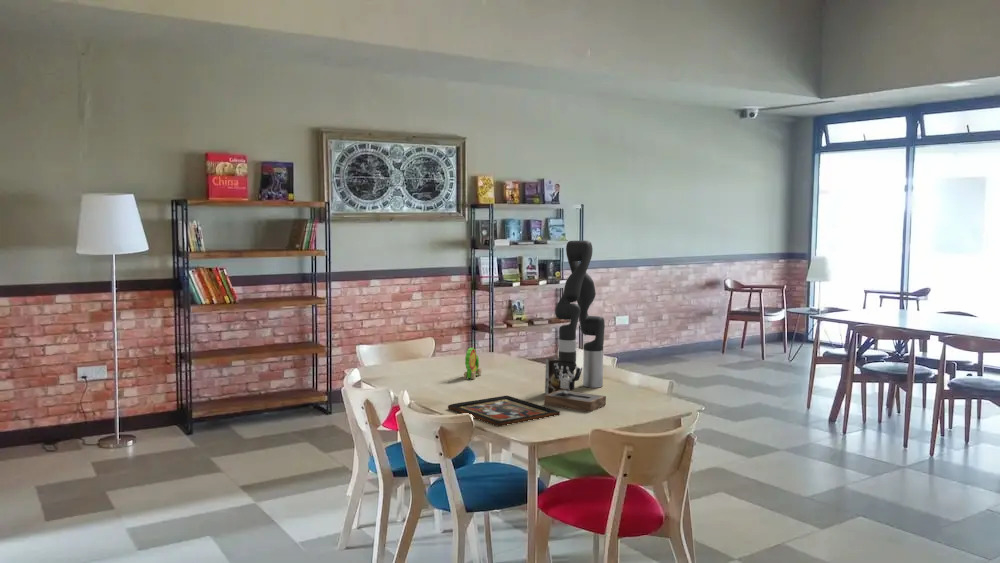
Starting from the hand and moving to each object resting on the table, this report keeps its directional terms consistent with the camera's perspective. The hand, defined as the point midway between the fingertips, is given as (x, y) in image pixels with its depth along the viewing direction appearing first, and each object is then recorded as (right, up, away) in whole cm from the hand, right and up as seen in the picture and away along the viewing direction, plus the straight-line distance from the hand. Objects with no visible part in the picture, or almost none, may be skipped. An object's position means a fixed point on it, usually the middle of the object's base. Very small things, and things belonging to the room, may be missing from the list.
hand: (566, 389), depth 346 cm
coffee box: (-3, -5, +19) cm, 20 cm away
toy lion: (-42, -2, +56) cm, 70 cm away
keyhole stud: (0, -5, 0) cm, 5 cm away
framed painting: (-27, -8, -15) cm, 32 cm away
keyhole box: (+3, -6, -2) cm, 7 cm away
